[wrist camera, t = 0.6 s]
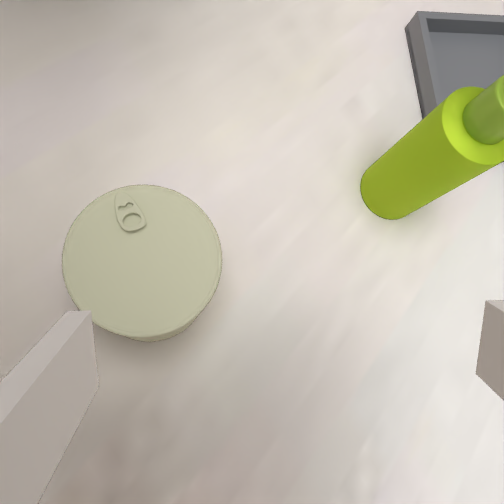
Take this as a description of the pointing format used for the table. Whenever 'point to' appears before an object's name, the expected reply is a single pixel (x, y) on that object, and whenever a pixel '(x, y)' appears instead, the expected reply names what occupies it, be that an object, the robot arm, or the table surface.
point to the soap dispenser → (439, 152)
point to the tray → (454, 53)
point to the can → (142, 262)
